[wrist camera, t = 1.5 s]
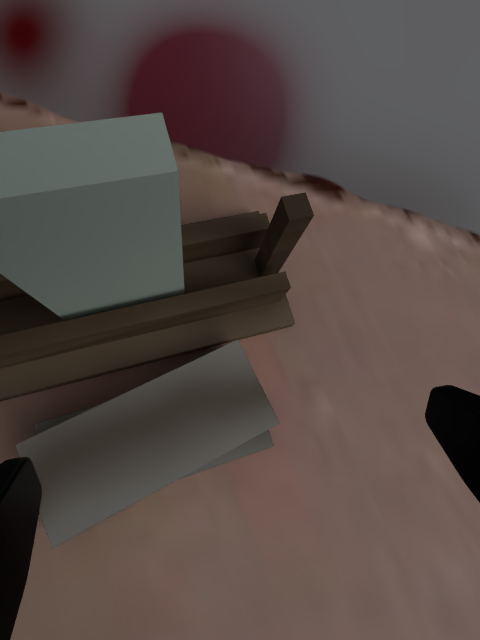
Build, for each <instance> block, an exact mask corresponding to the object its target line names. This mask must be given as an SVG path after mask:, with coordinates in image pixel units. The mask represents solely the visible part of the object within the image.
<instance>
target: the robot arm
mask: <svg viewBox="0 0 480 640" xmlns="http://www.w3.org/2000/svg"><path fill="white" fill-rule="evenodd" d="M425 418H426V422H427V424H428V426H429V427H430V429H431V431H432V432H433V434H434V435H435V437H436V439H437V440H438V442H439V443H440V445H441V447H442V448H443V450H444V451H445V453H446V454H447V456H448V458H449V459H450V461H451V462H452V464H453V466H454V467H455V469H456V470H457V472H458V473H459V475H460V476H461V478H462V479H463V481H464V482H465V484H466V485H467V486H468V488H469V489H470V491H471V492H472V493H473V495H474V496H475V497H476V499H477V500H478V501H479V502H480V396H479V395H476V394H474V393H471V392H468V391H465V390H463V389H460V388H457V387H455V386H452V385H445V386H439V387H435V388H433V389H432V390H431V392H430V396H429V400H428V404H427V408H426V412H425ZM41 499H42V486H41V483H40V480H39V478H38V475H37V473H36V470H35V468H34V465H33V463H32V461H31V459H30V458H28V457H20V458H14V459H9V460H6V461H4V462H3V463H1V464H0V640H10V638H11V635H12V631H13V628H14V624H15V621H16V617H17V614H18V610H19V606H20V603H21V599H22V596H23V592H24V588H25V585H26V581H27V576H28V571H29V566H30V561H31V555H32V550H33V544H34V538H35V533H36V527H37V521H38V516H39V510H40V504H41Z"/></svg>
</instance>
